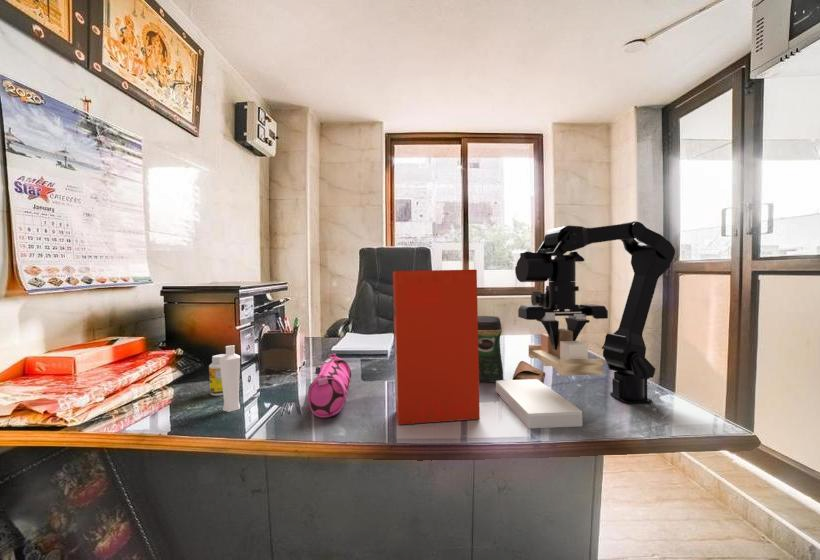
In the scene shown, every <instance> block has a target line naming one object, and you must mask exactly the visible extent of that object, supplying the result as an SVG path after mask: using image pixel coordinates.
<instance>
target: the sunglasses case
mask: <svg viewBox="0 0 820 560" xmlns="http://www.w3.org/2000/svg"><path fill="white" fill-rule="evenodd" d="M545 374H546V372H545V371H543V369H542V370H541V369H539V368H537V367H534V366H533V365H531V364H530V363H528V362H526V361H524V360H521V361H519V363H518V364H517V365H516V368H515V371H514V373H513V376H512V379H511V380H526V379H538V380H539V381H540V382H542V383H543V384H544V376H545Z"/></svg>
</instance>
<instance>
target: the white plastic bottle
mask: <svg viewBox="0 0 820 560" xmlns="http://www.w3.org/2000/svg"><path fill="white" fill-rule="evenodd" d="M235 346H236V345H234V344H232V345H231V344H230V345H226V346H224V348H225V354H226V355H225V356H223V357H221V358H220V359H219V361H220V370H221V378H222V387H223V395H222V396H223V407H222V411H224V412H228V413H229V412H230V413H231V412H234V411H237V410H240V409H241V404H240V401H239V398H240V397H239V396H240V394H239V393H240V370H241V355H239V354H237V353H235V351H236V350H235Z"/></svg>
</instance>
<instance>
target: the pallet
mask: <svg viewBox="0 0 820 560" xmlns="http://www.w3.org/2000/svg"><path fill="white" fill-rule="evenodd" d="M560 341H573V331H570V330H567V328H558V346H557V350H554V349H553V347H552V353H546V352H544V351H542V350H541V344H528V357H529V358H530V359H538V360H539V361H540V364H541V365H542V366H543V367H552V368H554V369H556V374H558V375H560V376H590V375H591V376H592V375H595V376H598V375H604V359H601V358H588V359H572V360H561V359H560Z"/></svg>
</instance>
